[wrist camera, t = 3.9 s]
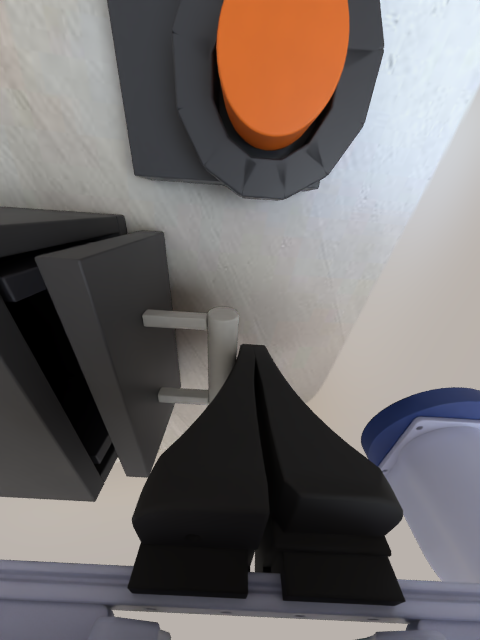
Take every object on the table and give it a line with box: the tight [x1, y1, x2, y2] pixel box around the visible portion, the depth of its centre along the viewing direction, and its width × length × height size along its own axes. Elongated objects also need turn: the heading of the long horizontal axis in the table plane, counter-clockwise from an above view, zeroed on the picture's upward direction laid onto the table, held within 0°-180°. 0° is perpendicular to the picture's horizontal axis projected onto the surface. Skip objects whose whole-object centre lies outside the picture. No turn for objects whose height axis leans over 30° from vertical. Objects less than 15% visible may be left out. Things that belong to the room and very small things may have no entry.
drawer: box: [0, 231, 239, 477], centre depth 11 cm, size 18×11×6 cm, turn 86°
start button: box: [216, 0, 349, 151], centre depth 6 cm, size 3×3×2 cm
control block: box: [107, 0, 384, 200], centre depth 7 cm, size 10×8×4 cm
